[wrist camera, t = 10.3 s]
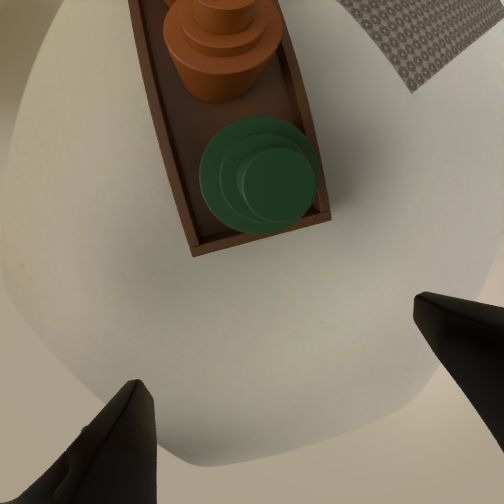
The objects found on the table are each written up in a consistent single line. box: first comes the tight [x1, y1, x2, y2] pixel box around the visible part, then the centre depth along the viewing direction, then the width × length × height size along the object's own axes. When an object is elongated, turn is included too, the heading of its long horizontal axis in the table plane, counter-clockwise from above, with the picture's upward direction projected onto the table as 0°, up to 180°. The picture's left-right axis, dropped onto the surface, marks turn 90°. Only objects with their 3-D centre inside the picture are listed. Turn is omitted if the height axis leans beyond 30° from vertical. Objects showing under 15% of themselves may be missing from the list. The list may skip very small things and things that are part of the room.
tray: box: [128, 0, 332, 257], centre depth 14 cm, size 20×8×2 cm, turn 13°
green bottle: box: [199, 115, 319, 234], centre depth 12 cm, size 4×4×10 cm
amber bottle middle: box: [163, 0, 283, 103], centre depth 10 cm, size 4×4×10 cm
